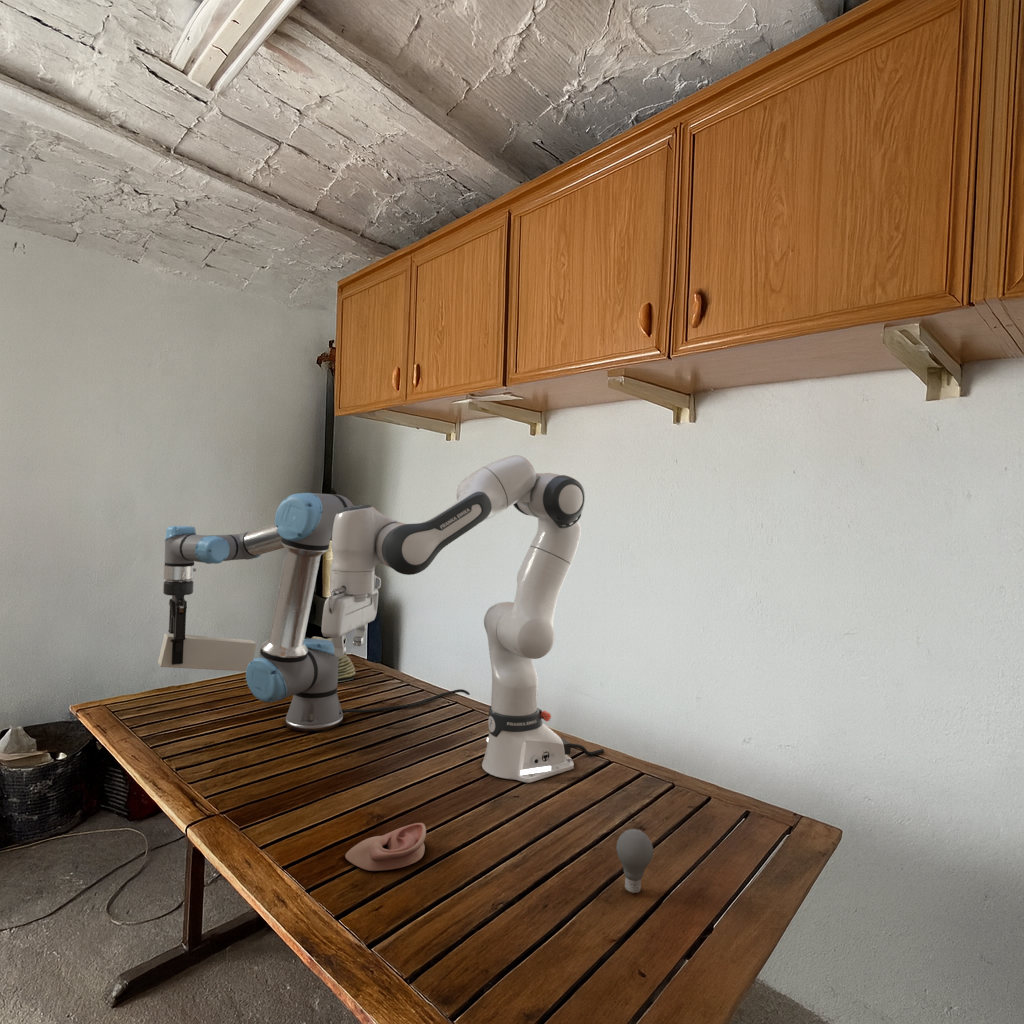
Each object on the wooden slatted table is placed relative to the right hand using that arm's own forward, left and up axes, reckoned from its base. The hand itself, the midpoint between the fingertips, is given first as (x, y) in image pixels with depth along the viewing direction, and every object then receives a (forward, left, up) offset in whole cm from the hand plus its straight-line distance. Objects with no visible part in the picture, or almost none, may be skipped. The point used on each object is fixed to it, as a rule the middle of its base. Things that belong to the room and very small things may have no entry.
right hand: (349, 650), depth 130 cm
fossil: (-14, -89, -32) cm, 95 cm away
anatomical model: (-3, +21, -32) cm, 39 cm away
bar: (+24, -74, -20) cm, 81 cm away
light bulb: (-37, +48, -32) cm, 69 cm away
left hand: (+32, -73, -18) cm, 81 cm away
